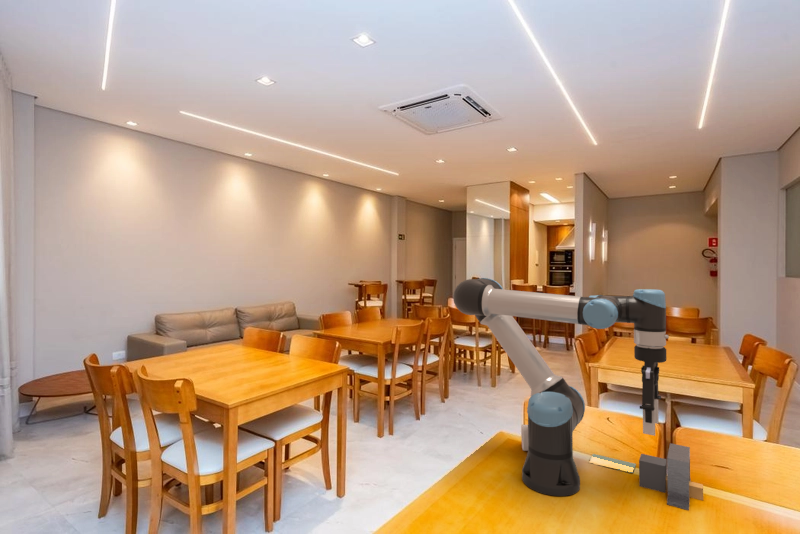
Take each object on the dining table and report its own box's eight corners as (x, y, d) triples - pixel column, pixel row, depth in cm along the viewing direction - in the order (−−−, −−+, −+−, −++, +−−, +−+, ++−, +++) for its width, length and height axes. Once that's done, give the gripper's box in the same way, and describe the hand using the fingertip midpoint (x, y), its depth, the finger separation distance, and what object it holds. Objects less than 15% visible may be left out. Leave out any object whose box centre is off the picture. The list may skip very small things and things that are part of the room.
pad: (588, 463, 127) (588, 462, 127) (592, 454, 132) (592, 453, 132) (632, 474, 119) (632, 473, 119) (636, 464, 125) (636, 463, 125)
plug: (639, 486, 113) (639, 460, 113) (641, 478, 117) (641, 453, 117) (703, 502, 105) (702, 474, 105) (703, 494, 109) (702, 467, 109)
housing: (667, 504, 104) (666, 462, 104) (671, 476, 118) (670, 439, 118) (688, 510, 101) (688, 467, 101) (690, 481, 115) (690, 443, 115)
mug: (556, 457, 131) (556, 432, 131) (523, 454, 133) (523, 429, 133) (550, 441, 142) (550, 418, 143) (520, 439, 144) (520, 416, 144)
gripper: (663, 354, 102) (664, 445, 102) (669, 341, 120) (669, 418, 120) (628, 351, 107) (629, 438, 107) (639, 338, 125) (640, 413, 125)
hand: (651, 427), depth 113 cm, fingers open, 9 cm apart
